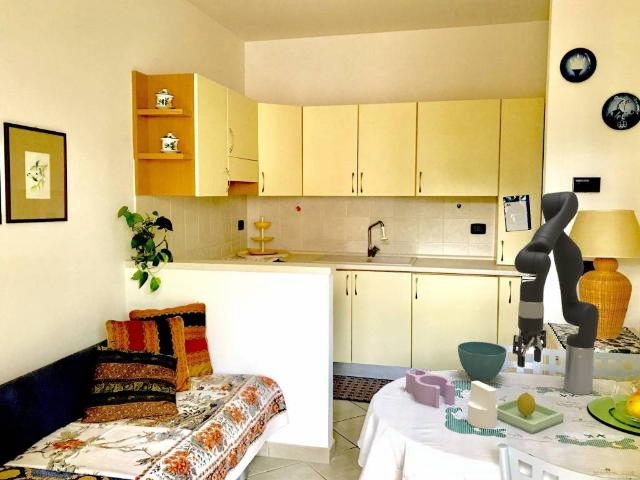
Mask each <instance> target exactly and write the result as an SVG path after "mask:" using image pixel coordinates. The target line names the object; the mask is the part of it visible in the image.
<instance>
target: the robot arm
mask: <svg viewBox="0 0 640 480" xmlns="http://www.w3.org/2000/svg"><path fill="white" fill-rule="evenodd" d="M540 202H541V203H540V205H541V207H540V208H541V212H542V215H543V219H544V223H543V224H542V225H540V227H538V228H537V229H536V230H535V232H534V234H533V236H532V238H531V239H530V242H528V243H527V244H526V245H525V246H523V248H521V249H520V250H519V251H518V253H517V254H516V255H515V258H514V264H513V265H514V267H515V270H516V271H517V272H518V273H521V274H526V275H535V276H536V277H535V278H534V280H533V279H532V280H526V281H522V282H521V283H520V285H519V300H518V301H519V302H518V315H517V316H518V317H517V328H518V329H519V330H520V334H519V335H517V334H514V335H513V340H512V354H514V355H516V357H517V358H516V360H517V361H516V365H517V367H519V368H522V369H523V368H525V366H526V353H527V351H529V350H530V348H531V347H533V361H534V362H535V363H541V362H542V351H544V349H546V348H547V330H546V329H544V321H545V320H544V319H545V318H544V317H545V316H544V315H545V314H544V313H545V305H544V296H545V294H544V291H545V284H546V282H547V278H548V275H549V272H550V270H551V267H552V259H551V257H550V254H551V253H552V255H553V261H554V267H555V270H556V274H557V280H558V285H559V290H560V291H559V292H560V301H561V312H562V317H563V320H565V322H566V323H568V325H571V326H573V327H578V332H577V333H574V334H573V333H571V334H568V335H567V337H566V340H565V341H566V344H565V359H564V360H565V363H564V379H563V380H564V381H563V382H564V383H563V390H564V391H566V392H568V393H571V394H573V395H580V396H584V395H585V396H586V395H591V394H592V391H593V384H594V383H593V382H594V356H595V355H594V354H595V344H596V343H595V342H596V340H597V337H598V336H597V335H598V328H599V320H600V319H599V318H600V316H599V315H600V313H599V309H598V307H597V306H596V305H595V304H593V303H590V302H586V301H581V300H579V297H578V289H577V287H578V284H579V281H580V280H581V278H582V276H583V273H584V268H585V265H584V259H583V254H582V251H581V249H580V246H579V245H578V244H577V243H576V242H575V241H574V240H573V239H572V238H571V237H570V236H569V235H568V234H567V233H566V232H565V229H566V228H567V227H568V226H569V224H570V223H571V221H573V219H574V218H575V217H576V215H577V213H578V210H579V199H578V197H577V194H576V192H573V191H558V192H557V191H556V192H547V193H545V194H543V195H542V197H541V200H540Z"/></svg>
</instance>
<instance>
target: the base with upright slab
mask: <svg viewBox="0 0 640 480" xmlns="http://www.w3.org/2000/svg"><path fill="white" fill-rule="evenodd" d="M497 412H498V405H497V389H496V388H494V387H491V386H490V385H488V384H486V383H485V382H480V381H474V380H473V381H470V399H469V400H468V402H467V423H468V424H469V425H470V424H471V425H470V426H472V425H473V426H472V427H474V428H475V427H476V428H479V429H485V430H486V429H487V430H488V429H493V428H496V427H497V425H498V419H497Z"/></svg>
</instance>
